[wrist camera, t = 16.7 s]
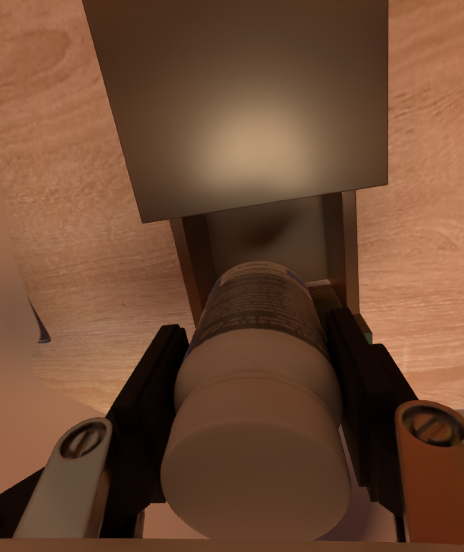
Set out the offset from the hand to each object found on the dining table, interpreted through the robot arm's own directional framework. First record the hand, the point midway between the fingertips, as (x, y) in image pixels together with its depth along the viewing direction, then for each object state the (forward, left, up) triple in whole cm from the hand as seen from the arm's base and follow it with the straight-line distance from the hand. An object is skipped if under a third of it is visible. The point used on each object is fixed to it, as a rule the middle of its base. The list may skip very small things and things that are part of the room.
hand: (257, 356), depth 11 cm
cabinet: (0, +11, -18) cm, 21 cm away
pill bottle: (0, 0, -4) cm, 4 cm away
